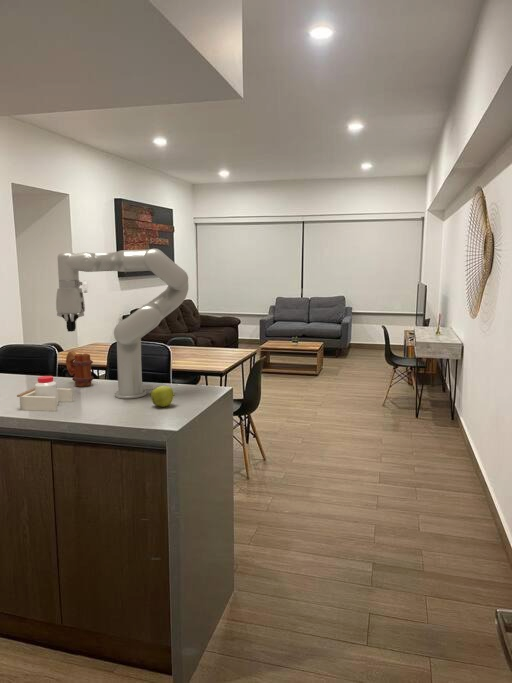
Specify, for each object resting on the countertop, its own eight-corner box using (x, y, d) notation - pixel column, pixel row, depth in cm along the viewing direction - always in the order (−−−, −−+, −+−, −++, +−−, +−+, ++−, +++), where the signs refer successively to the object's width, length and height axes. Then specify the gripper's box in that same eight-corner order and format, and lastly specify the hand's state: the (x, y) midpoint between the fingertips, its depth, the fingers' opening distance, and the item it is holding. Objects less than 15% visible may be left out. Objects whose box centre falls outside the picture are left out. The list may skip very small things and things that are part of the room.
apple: (178, 407, 191) (178, 386, 190) (155, 410, 186) (154, 389, 185) (171, 402, 198) (170, 382, 196) (148, 405, 193) (148, 385, 192)
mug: (98, 385, 228) (96, 352, 225) (83, 388, 221) (81, 354, 219) (76, 381, 235) (74, 349, 233) (61, 384, 228) (59, 351, 226)
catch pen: (73, 401, 200) (72, 387, 199) (55, 411, 186) (54, 396, 185) (38, 400, 201) (37, 386, 201) (17, 409, 187) (16, 395, 186)
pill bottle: (48, 402, 198) (46, 374, 197) (62, 404, 195) (60, 376, 193) (31, 406, 192) (29, 378, 190) (46, 409, 188) (43, 380, 186)
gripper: (91, 284, 203) (93, 330, 205) (55, 284, 204) (58, 329, 207) (83, 285, 195) (85, 332, 198) (46, 285, 197) (48, 332, 199)
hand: (71, 331), depth 202 cm, fingers closed
